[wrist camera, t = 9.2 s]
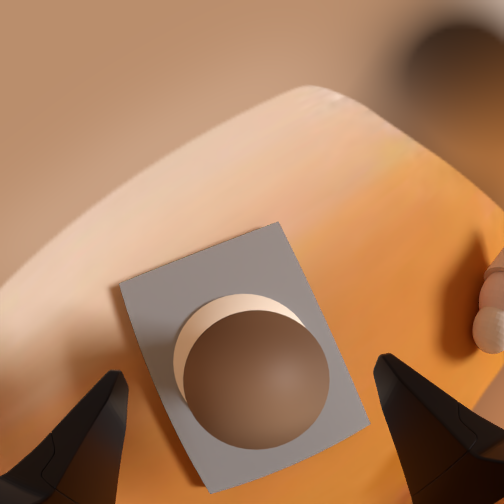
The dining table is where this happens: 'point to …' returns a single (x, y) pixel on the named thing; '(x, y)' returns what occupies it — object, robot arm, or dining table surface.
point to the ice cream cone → (491, 309)
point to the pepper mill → (256, 379)
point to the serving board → (212, 310)
